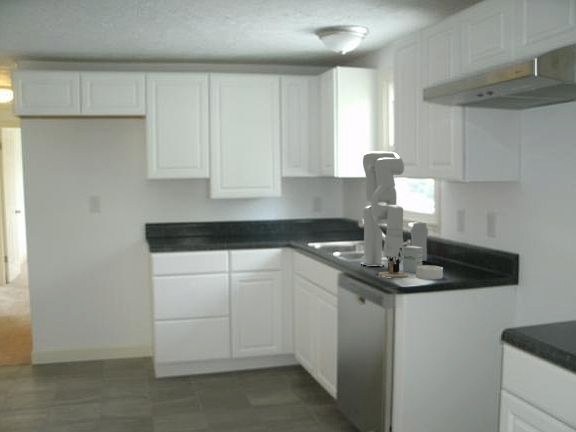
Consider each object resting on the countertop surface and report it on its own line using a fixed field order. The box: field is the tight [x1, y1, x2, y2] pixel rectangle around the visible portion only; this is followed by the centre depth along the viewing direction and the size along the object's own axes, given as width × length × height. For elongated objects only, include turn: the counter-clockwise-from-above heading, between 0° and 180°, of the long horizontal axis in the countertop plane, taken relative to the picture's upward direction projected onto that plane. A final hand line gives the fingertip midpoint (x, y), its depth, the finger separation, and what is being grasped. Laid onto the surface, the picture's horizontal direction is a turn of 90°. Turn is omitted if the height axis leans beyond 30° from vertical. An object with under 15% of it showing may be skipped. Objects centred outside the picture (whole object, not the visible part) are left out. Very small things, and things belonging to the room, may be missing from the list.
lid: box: [378, 261, 409, 279], centre depth 285 cm, size 14×14×7 cm
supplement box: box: [402, 245, 423, 273], centre depth 300 cm, size 7×7×13 cm
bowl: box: [415, 264, 444, 280], centre depth 283 cm, size 12×12×5 cm
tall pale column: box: [410, 221, 429, 262], centre depth 335 cm, size 11×4×22 cm, turn 106°
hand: (393, 271), depth 285 cm, fingers closed on lid, 3 cm apart
